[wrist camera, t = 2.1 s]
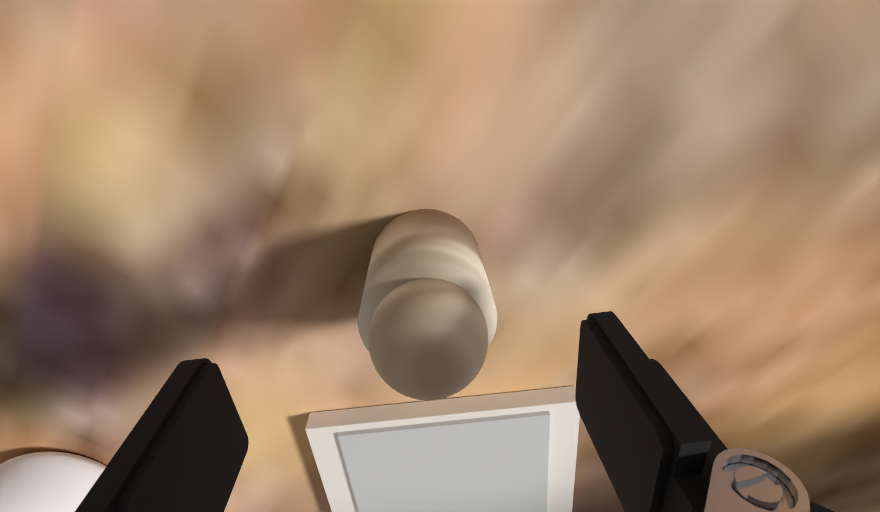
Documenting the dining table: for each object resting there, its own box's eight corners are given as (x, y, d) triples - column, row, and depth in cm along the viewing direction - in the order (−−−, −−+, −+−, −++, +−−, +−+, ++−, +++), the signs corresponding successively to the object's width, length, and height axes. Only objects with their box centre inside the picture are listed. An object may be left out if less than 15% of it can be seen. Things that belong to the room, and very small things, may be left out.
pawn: (476, 203, 17) (512, 300, 10) (481, 299, 19) (513, 429, 12) (363, 215, 17) (330, 318, 10) (380, 309, 19) (361, 445, 12)
